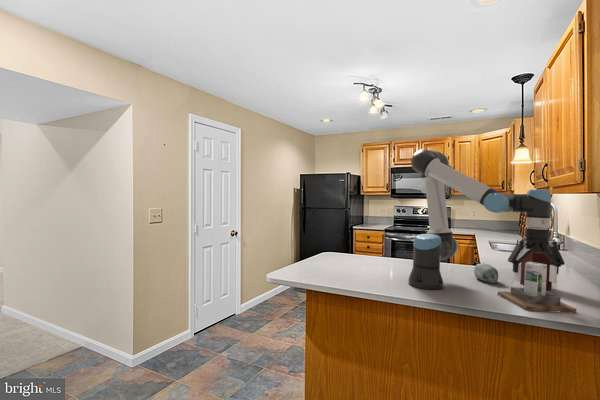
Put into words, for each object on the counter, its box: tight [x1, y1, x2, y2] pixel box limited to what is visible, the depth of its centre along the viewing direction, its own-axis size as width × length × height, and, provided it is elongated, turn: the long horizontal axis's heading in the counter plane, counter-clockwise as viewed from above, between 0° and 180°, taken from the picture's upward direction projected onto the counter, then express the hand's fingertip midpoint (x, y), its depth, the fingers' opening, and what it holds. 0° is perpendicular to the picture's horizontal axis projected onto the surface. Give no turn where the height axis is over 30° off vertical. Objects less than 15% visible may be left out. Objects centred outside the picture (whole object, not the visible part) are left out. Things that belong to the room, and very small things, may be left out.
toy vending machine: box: [519, 235, 554, 291], centre depth 146 cm, size 9×11×28 cm
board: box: [497, 286, 577, 314], centre depth 124 cm, size 18×18×4 cm
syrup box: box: [523, 262, 547, 296], centre depth 123 cm, size 6×6×14 cm
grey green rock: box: [473, 263, 499, 284], centre depth 156 cm, size 14×10×10 cm
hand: (534, 281), depth 123 cm, fingers open, 13 cm apart
